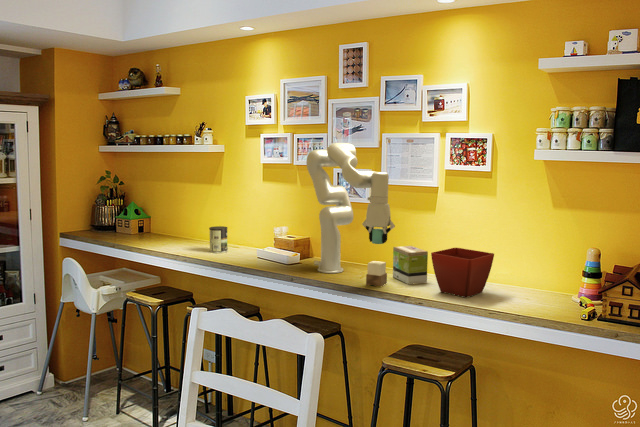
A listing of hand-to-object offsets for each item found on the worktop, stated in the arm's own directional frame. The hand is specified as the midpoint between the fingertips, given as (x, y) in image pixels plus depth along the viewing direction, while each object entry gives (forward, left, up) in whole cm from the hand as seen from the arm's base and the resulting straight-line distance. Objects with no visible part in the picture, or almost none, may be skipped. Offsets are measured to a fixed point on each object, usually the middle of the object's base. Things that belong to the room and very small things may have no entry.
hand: (377, 241), depth 241 cm
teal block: (0, 0, -1) cm, 1 cm away
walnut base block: (0, 0, -19) cm, 19 cm away
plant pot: (+36, +4, -19) cm, 41 cm away
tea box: (+10, +15, -19) cm, 27 cm away
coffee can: (-109, +30, -19) cm, 115 cm away
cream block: (0, 0, -14) cm, 14 cm away
